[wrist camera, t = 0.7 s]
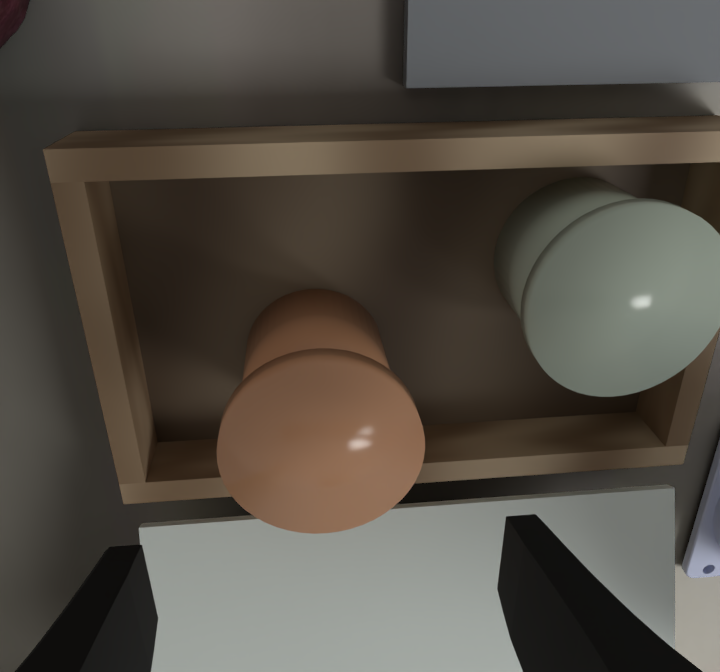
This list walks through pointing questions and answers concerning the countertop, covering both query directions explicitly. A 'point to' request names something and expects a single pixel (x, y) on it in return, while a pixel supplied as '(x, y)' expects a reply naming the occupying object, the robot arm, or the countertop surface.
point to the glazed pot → (609, 285)
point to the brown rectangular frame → (355, 280)
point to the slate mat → (559, 42)
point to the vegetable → (11, 17)
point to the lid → (390, 583)
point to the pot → (318, 419)
